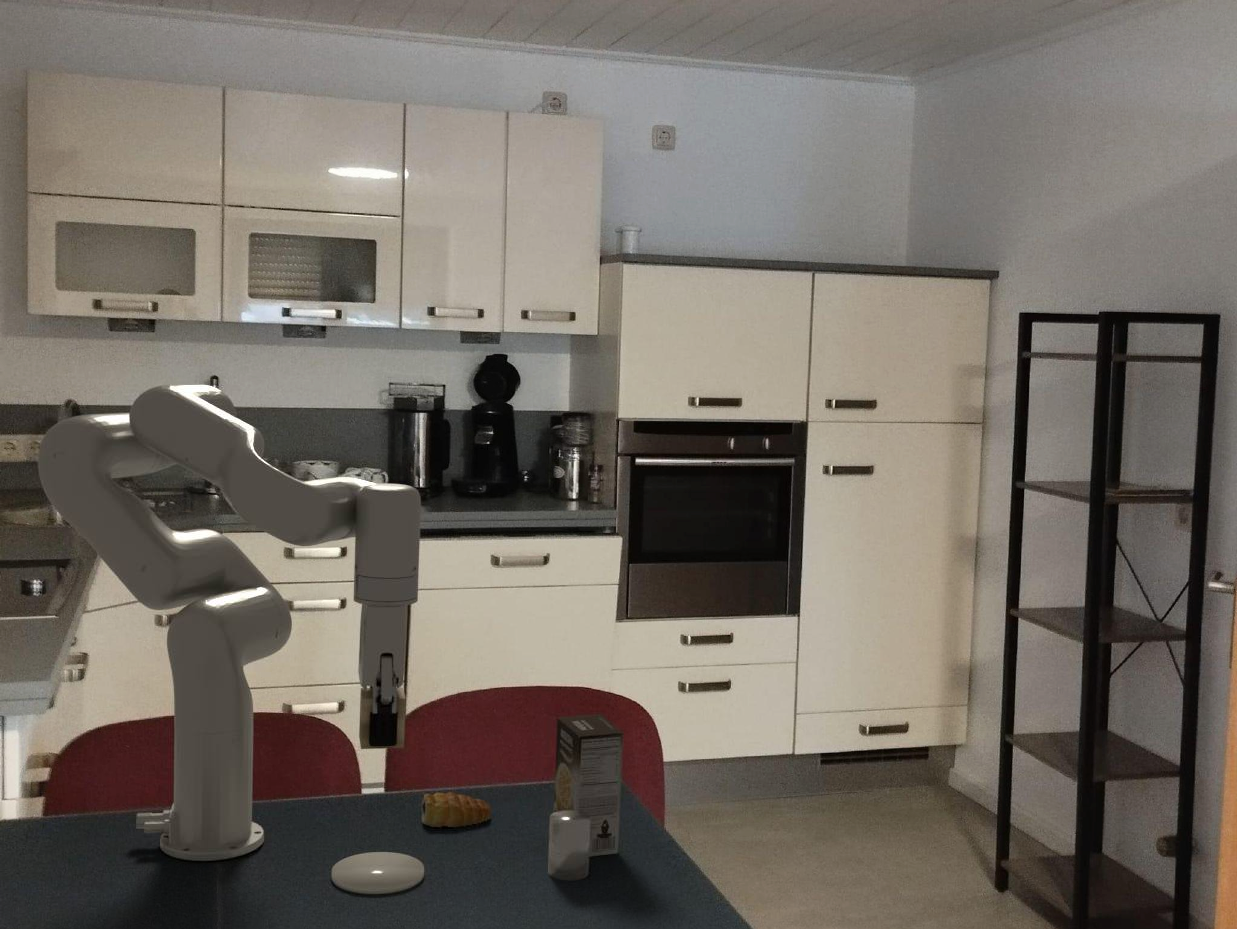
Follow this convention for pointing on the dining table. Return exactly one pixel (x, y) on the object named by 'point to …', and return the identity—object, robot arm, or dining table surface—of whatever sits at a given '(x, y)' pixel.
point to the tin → (569, 845)
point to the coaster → (377, 873)
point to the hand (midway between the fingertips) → (381, 736)
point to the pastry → (453, 810)
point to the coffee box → (590, 776)
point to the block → (365, 718)
